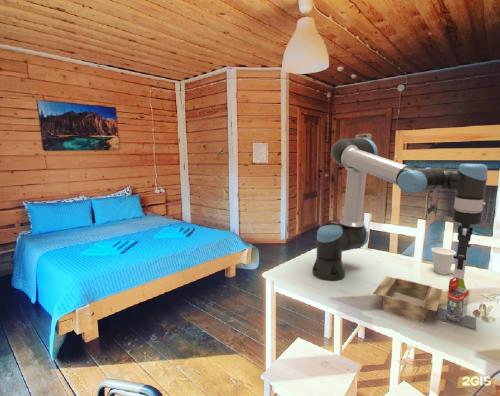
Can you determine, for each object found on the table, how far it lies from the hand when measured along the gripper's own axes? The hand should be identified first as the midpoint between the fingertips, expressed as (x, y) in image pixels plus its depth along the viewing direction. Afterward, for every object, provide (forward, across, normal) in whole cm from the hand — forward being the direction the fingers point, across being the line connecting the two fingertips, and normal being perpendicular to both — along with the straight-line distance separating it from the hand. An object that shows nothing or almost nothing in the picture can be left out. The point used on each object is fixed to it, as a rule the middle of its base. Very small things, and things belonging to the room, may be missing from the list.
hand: (459, 270), depth 100 cm
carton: (+18, 0, +15) cm, 23 cm away
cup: (+19, +43, +8) cm, 47 cm away
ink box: (+18, 0, -1) cm, 18 cm away
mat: (+18, 0, -1) cm, 18 cm away
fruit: (+18, +16, 0) cm, 24 cm away
